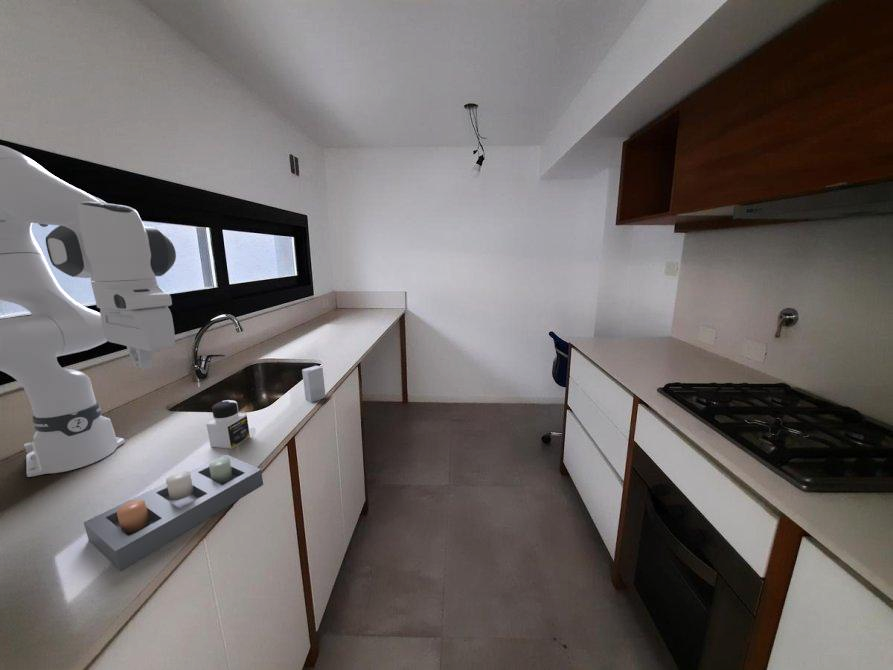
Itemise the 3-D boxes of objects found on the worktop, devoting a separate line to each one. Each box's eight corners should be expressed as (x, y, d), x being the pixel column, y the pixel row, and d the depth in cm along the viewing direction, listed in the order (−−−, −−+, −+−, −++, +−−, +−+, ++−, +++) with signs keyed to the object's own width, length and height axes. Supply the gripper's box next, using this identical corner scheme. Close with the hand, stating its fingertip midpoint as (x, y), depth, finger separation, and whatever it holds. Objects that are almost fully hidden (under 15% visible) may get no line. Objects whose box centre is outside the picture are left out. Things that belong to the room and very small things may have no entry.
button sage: (208, 481, 80) (205, 465, 79) (226, 471, 83) (223, 456, 82) (218, 486, 78) (215, 470, 77) (236, 476, 81) (233, 461, 80)
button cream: (165, 496, 73) (162, 479, 72) (187, 485, 76) (184, 469, 75) (175, 502, 71) (171, 485, 70) (197, 491, 74) (194, 474, 73)
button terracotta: (117, 528, 66) (112, 510, 65) (143, 515, 69) (139, 497, 69) (126, 536, 64) (122, 517, 63) (153, 522, 68) (148, 503, 67)
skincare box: (319, 395, 135) (316, 364, 132) (326, 397, 132) (323, 366, 129) (304, 400, 130) (301, 369, 127) (311, 403, 127) (307, 371, 125)
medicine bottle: (231, 449, 97) (224, 409, 95) (209, 447, 99) (202, 407, 96) (250, 436, 104) (244, 398, 102) (229, 434, 106) (223, 397, 103)
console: (88, 540, 66) (83, 522, 66) (228, 468, 88) (226, 454, 88) (120, 571, 60) (115, 551, 59) (263, 484, 82) (261, 469, 81)
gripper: (83, 295, 67) (100, 365, 70) (131, 300, 57) (149, 381, 60) (125, 292, 72) (139, 357, 75) (175, 296, 62) (190, 370, 65)
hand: (144, 368), depth 67 cm, fingers closed
